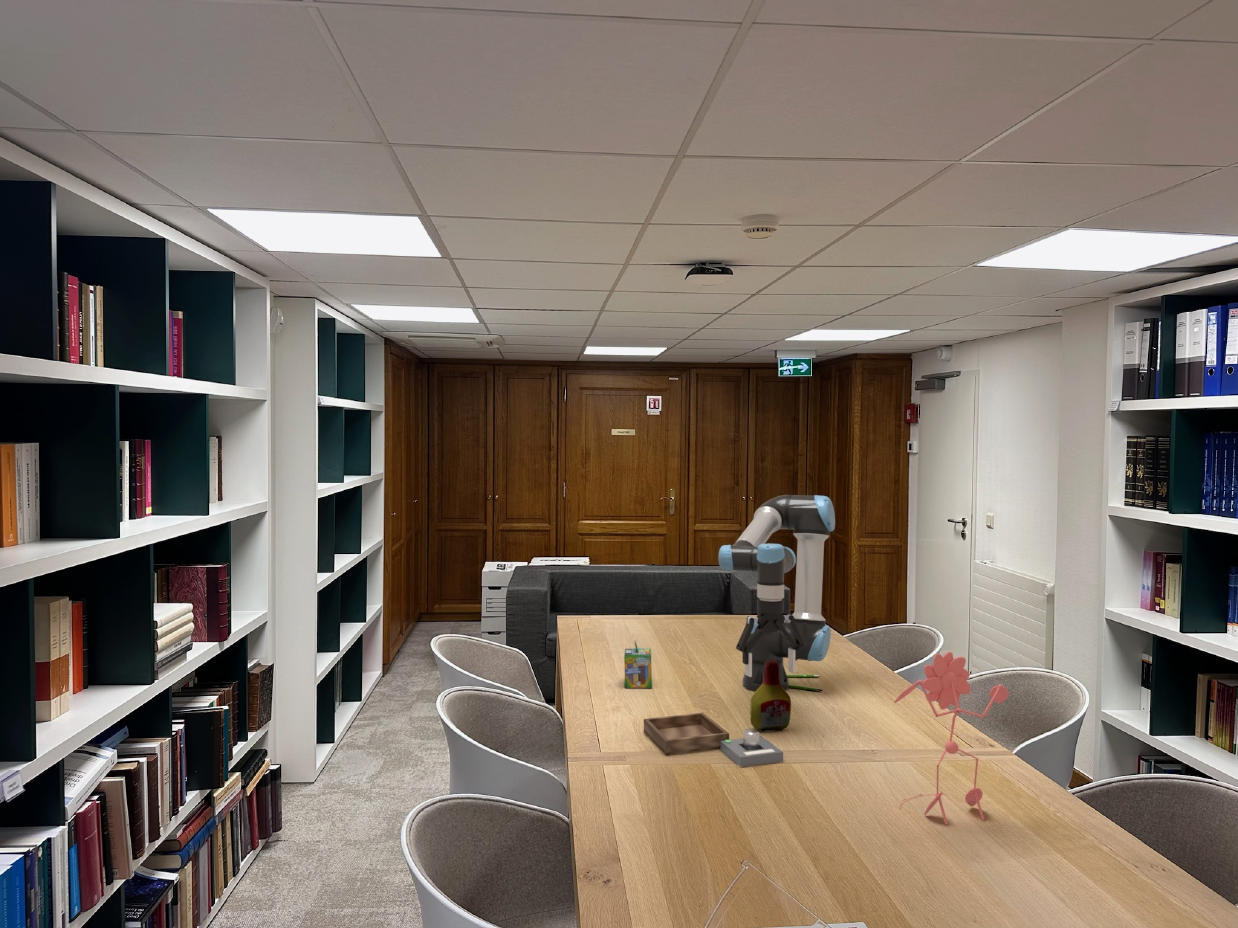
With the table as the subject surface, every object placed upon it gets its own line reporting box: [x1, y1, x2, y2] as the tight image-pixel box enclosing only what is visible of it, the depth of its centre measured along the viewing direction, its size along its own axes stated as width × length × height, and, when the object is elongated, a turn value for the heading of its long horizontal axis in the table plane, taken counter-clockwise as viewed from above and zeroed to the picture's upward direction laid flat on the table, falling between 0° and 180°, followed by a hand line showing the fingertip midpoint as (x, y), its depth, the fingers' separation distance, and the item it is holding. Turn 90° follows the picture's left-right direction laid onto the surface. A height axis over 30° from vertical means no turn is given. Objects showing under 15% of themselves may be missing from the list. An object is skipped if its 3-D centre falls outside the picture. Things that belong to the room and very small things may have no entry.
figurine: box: [893, 651, 1010, 825], centre depth 179 cm, size 15×26×35 cm, turn 104°
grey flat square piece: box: [719, 735, 784, 768], centre depth 210 cm, size 12×12×3 cm
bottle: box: [749, 659, 792, 733], centre depth 229 cm, size 12×6×20 cm, turn 94°
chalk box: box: [623, 640, 653, 689], centre depth 274 cm, size 9×9×15 cm
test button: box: [742, 729, 760, 751], centre depth 210 cm, size 4×4×4 cm
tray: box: [643, 712, 730, 756], centre depth 222 cm, size 18×18×4 cm
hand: (770, 673), depth 229 cm, fingers open, 13 cm apart
